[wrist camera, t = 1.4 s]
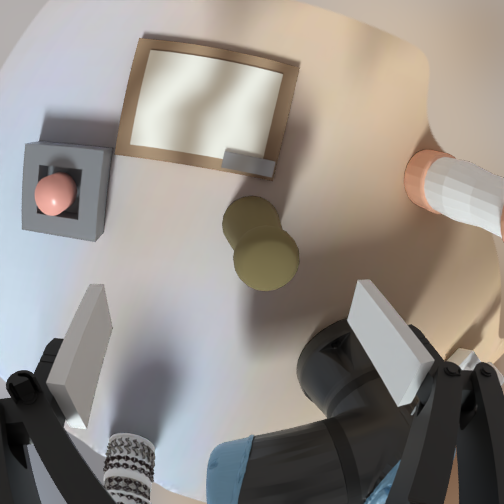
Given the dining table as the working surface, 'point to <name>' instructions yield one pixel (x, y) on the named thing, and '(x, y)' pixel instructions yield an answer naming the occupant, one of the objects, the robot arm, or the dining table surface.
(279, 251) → the pepper shaker
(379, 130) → the dining table surface
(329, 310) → the dining table surface
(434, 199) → the pepper shaker
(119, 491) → the decorative candle
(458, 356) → the figurine
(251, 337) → the dining table surface
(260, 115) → the clipboard
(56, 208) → the button
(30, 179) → the button housing
